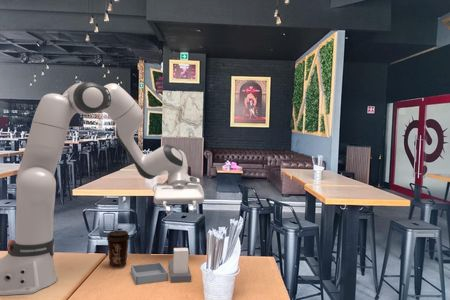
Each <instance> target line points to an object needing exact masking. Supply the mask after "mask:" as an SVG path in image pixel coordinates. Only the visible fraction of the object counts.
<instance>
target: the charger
mask: <svg viewBox="0 0 450 300" xmlns="http://www.w3.org/2000/svg"><path fill="white" fill-rule="evenodd" d="M172 255H173V257H172V260H173V274H182V273H188V266H189V248H188V247H174V248H173V254H172Z"/></svg>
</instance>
